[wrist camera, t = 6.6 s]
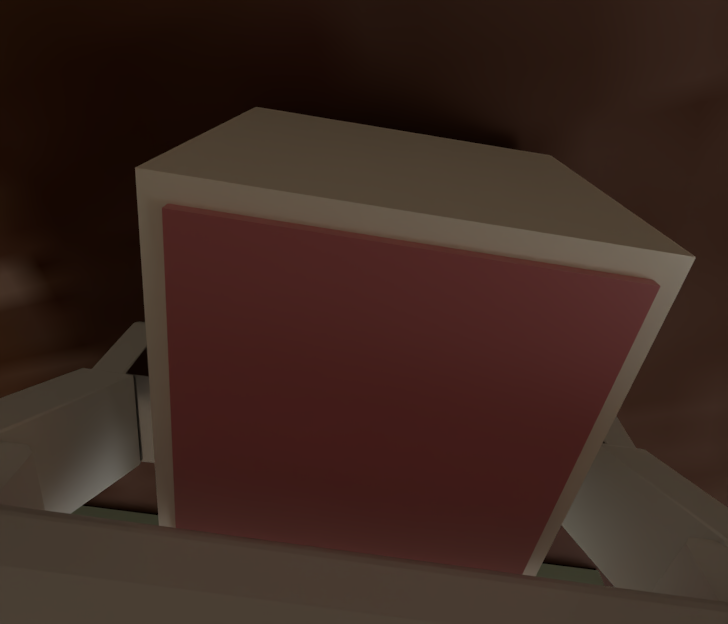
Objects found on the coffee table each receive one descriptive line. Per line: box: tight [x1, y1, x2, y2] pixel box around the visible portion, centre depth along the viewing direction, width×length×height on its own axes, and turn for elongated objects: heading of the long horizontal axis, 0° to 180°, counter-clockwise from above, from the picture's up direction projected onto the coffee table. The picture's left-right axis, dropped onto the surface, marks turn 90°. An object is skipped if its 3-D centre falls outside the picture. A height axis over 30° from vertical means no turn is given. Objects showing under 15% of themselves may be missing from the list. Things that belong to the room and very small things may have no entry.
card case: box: [135, 107, 696, 576], centre depth 9 cm, size 9×6×5 cm, turn 171°
